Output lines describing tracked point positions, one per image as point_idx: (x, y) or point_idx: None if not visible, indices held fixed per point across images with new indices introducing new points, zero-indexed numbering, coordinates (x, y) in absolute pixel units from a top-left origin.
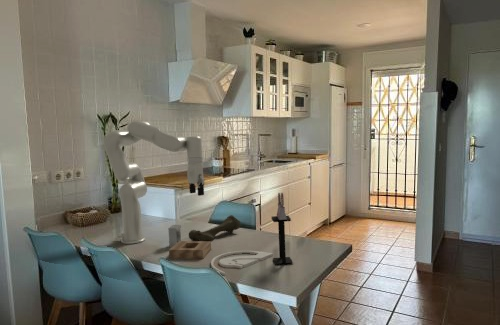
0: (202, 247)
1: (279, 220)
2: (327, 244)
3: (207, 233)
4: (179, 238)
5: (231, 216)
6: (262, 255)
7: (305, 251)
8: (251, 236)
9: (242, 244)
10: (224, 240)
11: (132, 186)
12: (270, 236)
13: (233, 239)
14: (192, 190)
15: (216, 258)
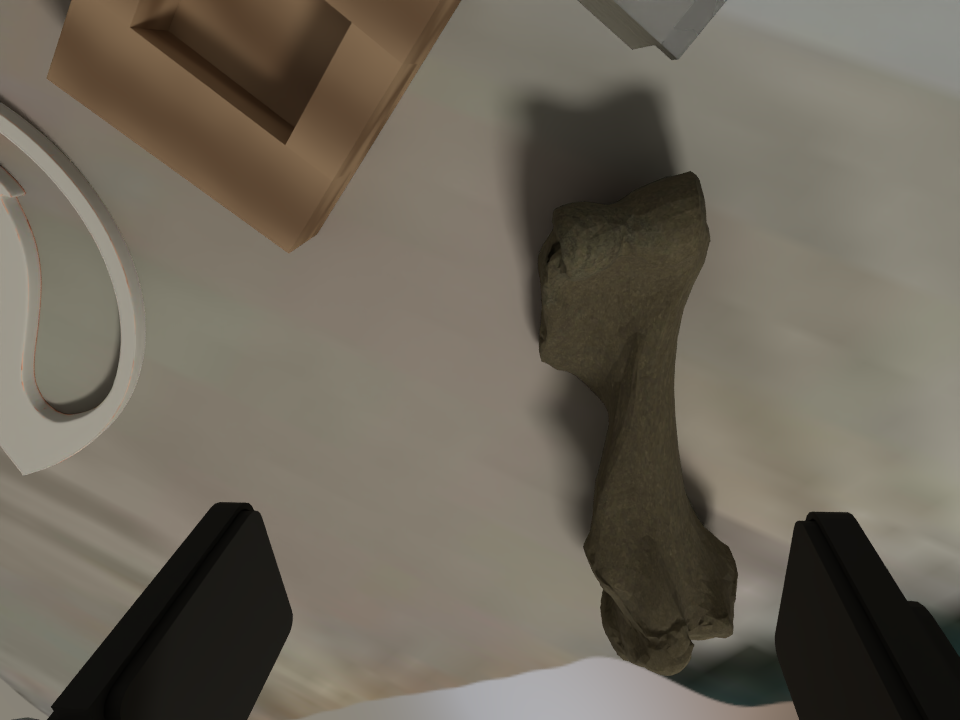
0: (127, 108)
1: None
2: None
3: (610, 350)
4: (604, 15)
5: (654, 656)
6: (3, 419)
7: (60, 603)
8: (468, 578)
9: (323, 456)
10: (491, 413)
11: None
12: (398, 642)
13: (474, 470)
14: (814, 642)
15: (34, 158)
